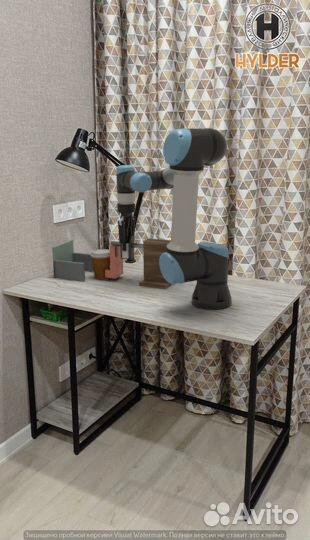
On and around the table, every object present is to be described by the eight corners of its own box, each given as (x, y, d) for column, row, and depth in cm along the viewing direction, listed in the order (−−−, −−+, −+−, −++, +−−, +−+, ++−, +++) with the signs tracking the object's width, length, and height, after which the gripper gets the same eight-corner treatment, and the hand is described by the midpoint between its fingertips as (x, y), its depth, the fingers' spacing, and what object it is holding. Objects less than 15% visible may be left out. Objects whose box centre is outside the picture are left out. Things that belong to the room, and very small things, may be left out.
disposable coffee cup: (114, 274, 241) (113, 248, 238) (110, 280, 232) (109, 254, 229) (93, 274, 242) (92, 248, 239) (89, 280, 233) (88, 253, 230)
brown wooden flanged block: (165, 289, 220) (166, 244, 215) (139, 286, 225) (138, 242, 219) (175, 281, 231) (175, 238, 226) (149, 278, 235) (149, 236, 230)
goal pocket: (83, 281, 231) (82, 250, 228) (54, 277, 237) (52, 247, 233) (101, 271, 246) (100, 242, 242) (72, 268, 251) (71, 239, 248)
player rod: (171, 284, 221) (171, 241, 216) (105, 277, 232) (104, 235, 227) (177, 279, 228) (177, 237, 223) (113, 272, 239) (112, 232, 234)
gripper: (126, 199, 232) (127, 252, 239) (109, 205, 218) (111, 260, 224) (142, 200, 229) (142, 253, 236) (126, 206, 215) (127, 262, 221)
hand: (127, 256), depth 230 cm, fingers closed on player rod, 3 cm apart
